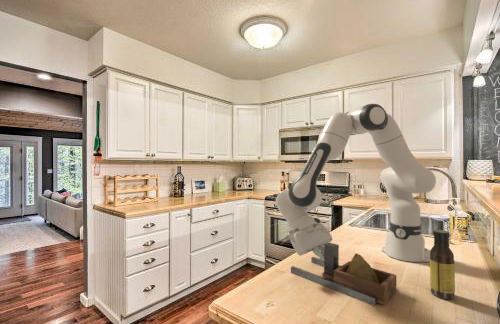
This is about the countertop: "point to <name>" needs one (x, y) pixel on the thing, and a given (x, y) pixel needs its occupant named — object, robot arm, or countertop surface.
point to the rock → (362, 269)
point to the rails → (334, 283)
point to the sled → (363, 285)
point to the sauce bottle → (442, 266)
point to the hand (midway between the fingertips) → (325, 258)
